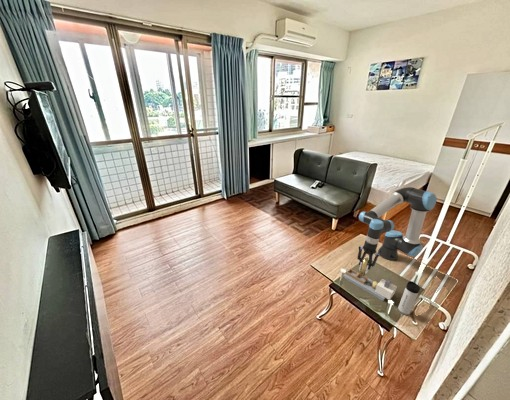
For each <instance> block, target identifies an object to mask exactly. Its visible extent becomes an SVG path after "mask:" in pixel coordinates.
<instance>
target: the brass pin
mask: <svg viewBox="0 0 510 400" xmlns="http://www.w3.org/2000/svg"><path fill="white" fill-rule="evenodd" d="M368 264H369V258H366V257H364V259H363V263H362V266H361V270H359V273H360V275H362V276H365V277H366V275H367V273H365V271H366V268H367V265H368Z"/></svg>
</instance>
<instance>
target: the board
mask: <svg viewBox="0 0 510 400" xmlns="http://www.w3.org/2000/svg"><path fill="white" fill-rule="evenodd" d="M343 277H344V278H345V280H346V281H348V282H349V283H352V284H353V285H355V286H356V287H358V288H359V289H362V290H363V291H365V292H366V293H368V294H370V295H372V296H374V297H375V298H377V299H379V300H381V301H382V302H384V301H385V300H386V298H385V297H383V296H381V295H380V294H378V293H376V292H375V289H376V286H377V284H378V283H379V282H380V281H377V280H372V279H370V278H369V277H367V276H366V275H365V276H362V275H360V272H358V271H356V270H355V269H352V268H349V269H348V270H346V271H345V273H344V274H343V275H342V278H343ZM344 278H343V279H344Z"/></svg>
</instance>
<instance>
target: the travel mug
mask: <svg viewBox="0 0 510 400" xmlns="http://www.w3.org/2000/svg"><path fill="white" fill-rule="evenodd" d="M420 290H421V287H420V286H419V284H417V283H415V282H414V281H412V280H410V281H408V282H407V283H406V286H405V288H404V290H403V293H402V296H401V299H400V302H399V304H398V307H397V310H398V312H400V313H401V314H402V315H404V316H410V314H411V312H412V309H413V307H414V305H415V302H416V300H417V297H418V295H419V292H420Z"/></svg>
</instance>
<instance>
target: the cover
mask: <svg viewBox="0 0 510 400" xmlns="http://www.w3.org/2000/svg"><path fill="white" fill-rule="evenodd" d="M378 282H379V283H378V284H377V286H376V289H375V292H376V293H378V294H380V295H381V296H383V297H385V299H387V300H389V301H390V300H391V299H392V298H393V296H394V295H395V293H396V291H397V287H398V286H397V285H395V284H393V283H391V282H392V279H391V278H389V277H388V278H387V279H384V278H381V279H380V281H378Z"/></svg>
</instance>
